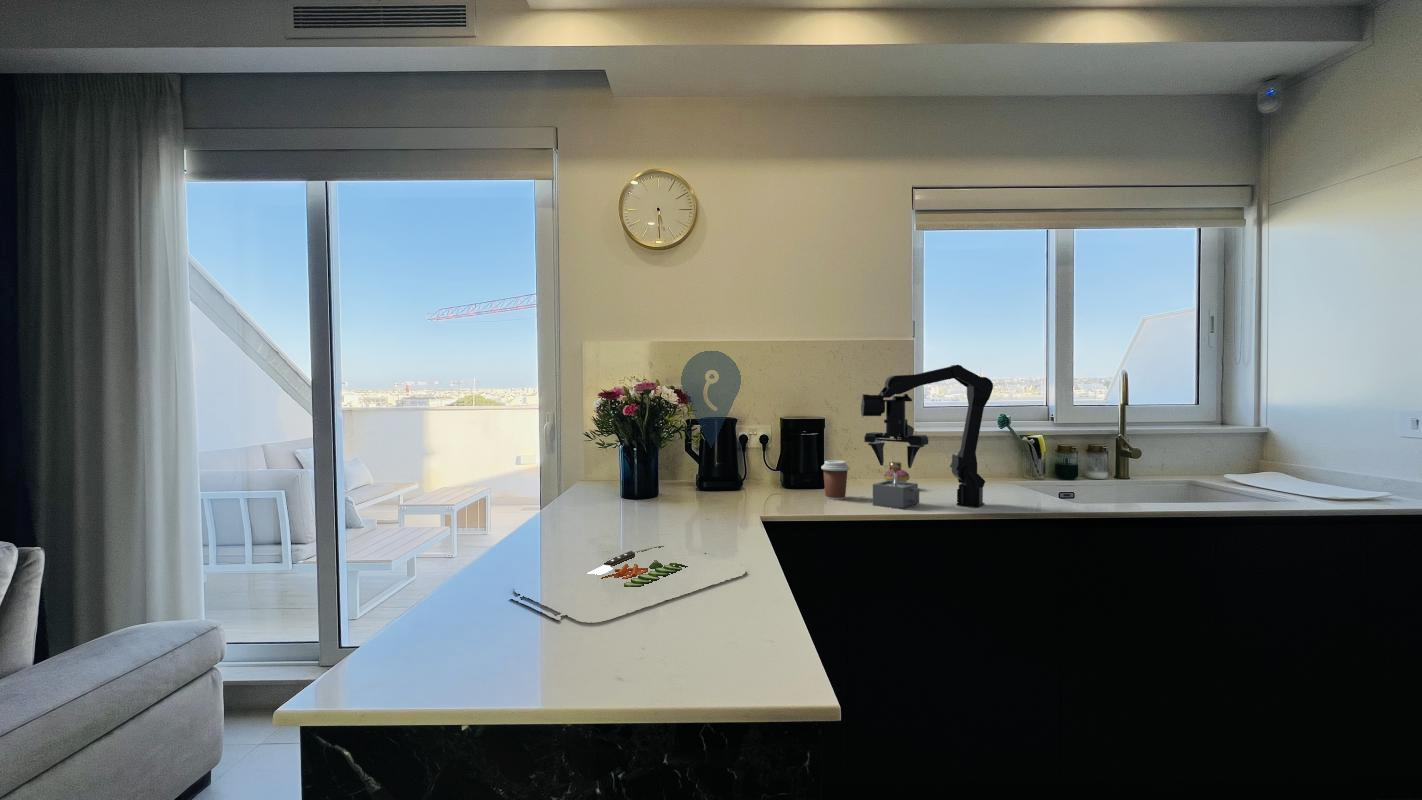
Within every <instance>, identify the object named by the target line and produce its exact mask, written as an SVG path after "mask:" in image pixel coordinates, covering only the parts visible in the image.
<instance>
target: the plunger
mask: <svg viewBox="0 0 1422 800" xmlns="http://www.w3.org/2000/svg"><path fill="white" fill-rule="evenodd" d="M888 465H889V467H888V469H889V470H894V484H893V483H888V484H885V485H889V486H897V487H903V486H907V485H902V484H897V471H899V470H902V462H900V461H893V462H892V461H889V463H888ZM889 470H888V471H889Z"/></svg>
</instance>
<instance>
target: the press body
mask: <svg viewBox="0 0 1422 800" xmlns="http://www.w3.org/2000/svg"><path fill="white" fill-rule="evenodd" d="M888 483H893V484H894V481H890V480H883V481H881V482H876V483H873V484H872V506H876V507H882V506H883V508H889V507H891V509H897V508H898V510H905V508H906V509H908V507H909V508H911V506H912V507H914V506H917V505H918V504H920V488H918V487H919V485H918V483H917V482H915V483H914V482H907V481H906V482H899V481H897V484H902V485H907V486H903V487H897V486H889V485H885V484H888ZM916 504H917V505H916ZM913 505H914V506H913Z"/></svg>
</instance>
